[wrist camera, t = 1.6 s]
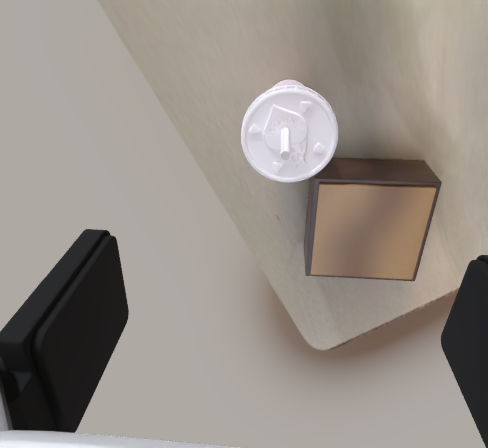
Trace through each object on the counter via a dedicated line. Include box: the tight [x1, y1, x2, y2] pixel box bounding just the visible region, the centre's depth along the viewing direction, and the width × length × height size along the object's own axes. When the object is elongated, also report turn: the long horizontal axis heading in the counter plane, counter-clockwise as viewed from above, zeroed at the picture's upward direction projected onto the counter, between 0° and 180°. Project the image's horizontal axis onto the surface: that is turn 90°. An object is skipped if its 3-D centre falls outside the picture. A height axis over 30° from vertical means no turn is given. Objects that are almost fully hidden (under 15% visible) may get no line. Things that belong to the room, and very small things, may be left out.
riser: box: [304, 158, 441, 281], centre depth 36 cm, size 10×10×5 cm
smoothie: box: [241, 80, 338, 182], centre depth 28 cm, size 6×6×14 cm
